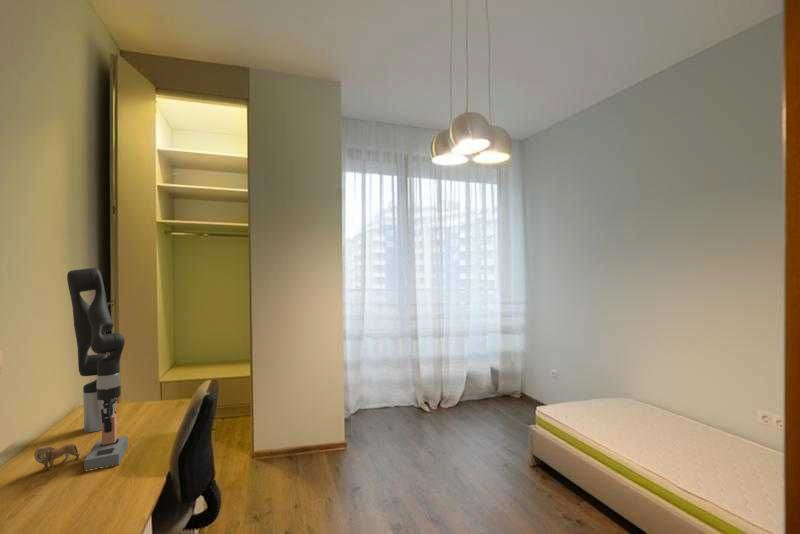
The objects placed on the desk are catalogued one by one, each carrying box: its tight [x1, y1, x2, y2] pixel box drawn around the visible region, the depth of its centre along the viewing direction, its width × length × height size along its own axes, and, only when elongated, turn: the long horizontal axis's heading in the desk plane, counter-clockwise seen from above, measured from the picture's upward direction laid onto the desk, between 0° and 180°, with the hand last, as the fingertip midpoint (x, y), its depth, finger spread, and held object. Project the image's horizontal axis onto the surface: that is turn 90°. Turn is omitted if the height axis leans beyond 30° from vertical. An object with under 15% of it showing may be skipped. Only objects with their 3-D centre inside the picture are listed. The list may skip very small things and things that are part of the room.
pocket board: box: [83, 435, 129, 472], centre depth 150 cm, size 18×10×4 cm, turn 26°
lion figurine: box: [33, 442, 81, 471], centre depth 144 cm, size 15×5×9 cm, turn 164°
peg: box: [101, 413, 118, 445], centre depth 154 cm, size 4×4×10 cm
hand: (109, 429), depth 153 cm, fingers closed on peg, 4 cm apart
